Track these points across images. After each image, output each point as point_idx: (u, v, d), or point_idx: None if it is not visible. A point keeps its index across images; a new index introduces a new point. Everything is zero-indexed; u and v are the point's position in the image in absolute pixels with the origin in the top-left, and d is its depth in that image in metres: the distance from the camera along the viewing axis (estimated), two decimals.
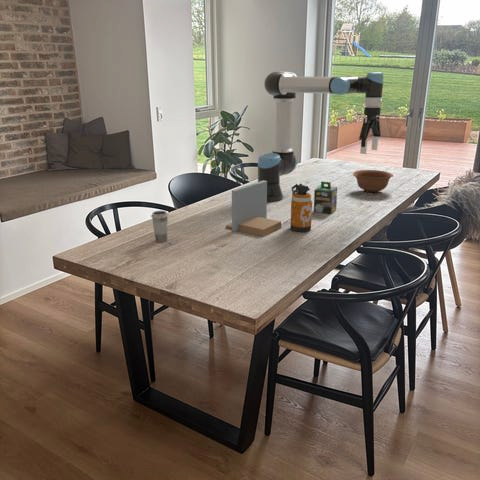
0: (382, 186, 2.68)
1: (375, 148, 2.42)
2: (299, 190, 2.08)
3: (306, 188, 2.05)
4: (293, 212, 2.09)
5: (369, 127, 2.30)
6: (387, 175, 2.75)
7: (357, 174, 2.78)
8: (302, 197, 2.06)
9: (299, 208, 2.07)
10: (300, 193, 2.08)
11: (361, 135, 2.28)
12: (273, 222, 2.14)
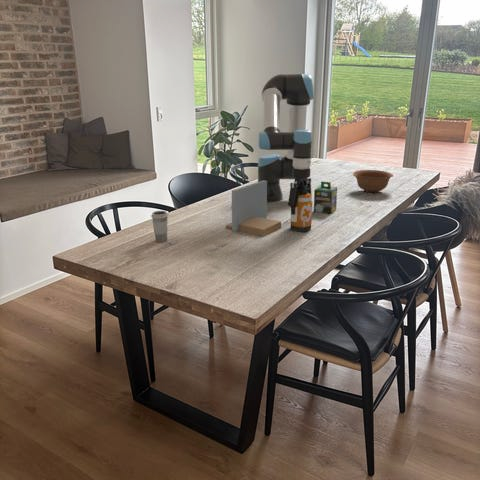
0: (382, 186, 2.68)
1: None
2: None
3: (306, 188, 2.05)
4: None
5: (298, 192, 2.06)
6: (387, 175, 2.75)
7: (357, 174, 2.78)
8: (302, 197, 2.06)
9: (299, 208, 2.07)
10: (300, 193, 2.08)
11: (289, 202, 2.05)
12: (273, 222, 2.14)
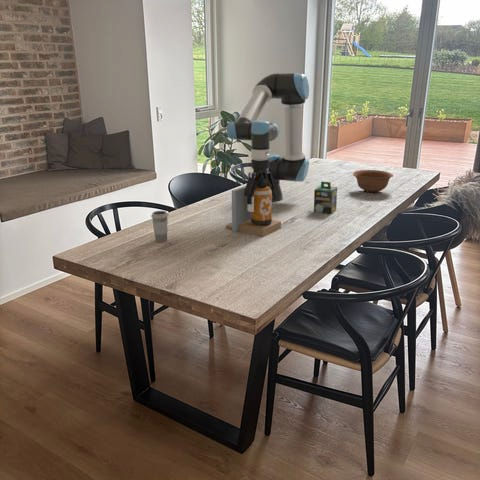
0: (382, 186, 2.68)
1: None
2: (258, 183, 2.07)
3: (265, 181, 2.04)
4: None
5: (256, 182, 2.03)
6: (387, 175, 2.75)
7: (357, 174, 2.78)
8: (261, 190, 2.05)
9: (258, 201, 2.06)
10: (259, 186, 2.07)
11: (245, 192, 2.01)
12: (273, 222, 2.14)
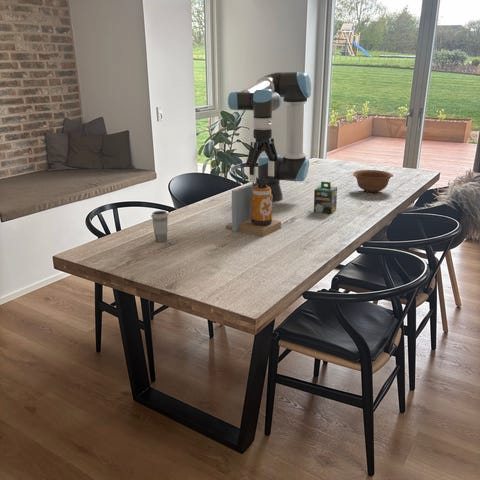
0: (382, 186, 2.68)
1: (271, 174, 2.12)
2: (259, 183, 2.07)
3: (265, 181, 2.04)
4: (253, 205, 2.08)
5: (258, 152, 2.00)
6: (387, 175, 2.75)
7: (357, 174, 2.78)
8: (261, 190, 2.05)
9: (258, 201, 2.06)
10: (260, 186, 2.07)
11: (248, 162, 1.98)
12: (273, 222, 2.14)
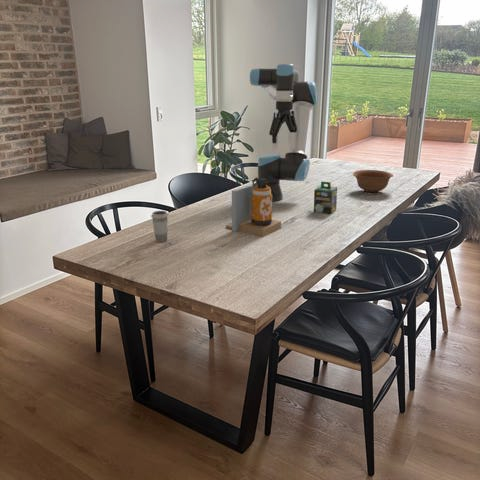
0: (382, 186, 2.68)
1: (291, 144, 2.29)
2: (259, 183, 2.07)
3: (265, 181, 2.04)
4: (253, 206, 2.08)
5: (280, 122, 2.17)
6: (387, 175, 2.75)
7: (357, 174, 2.78)
8: (261, 190, 2.04)
9: (258, 201, 2.05)
10: (260, 186, 2.07)
11: (271, 130, 2.15)
12: (273, 222, 2.14)
